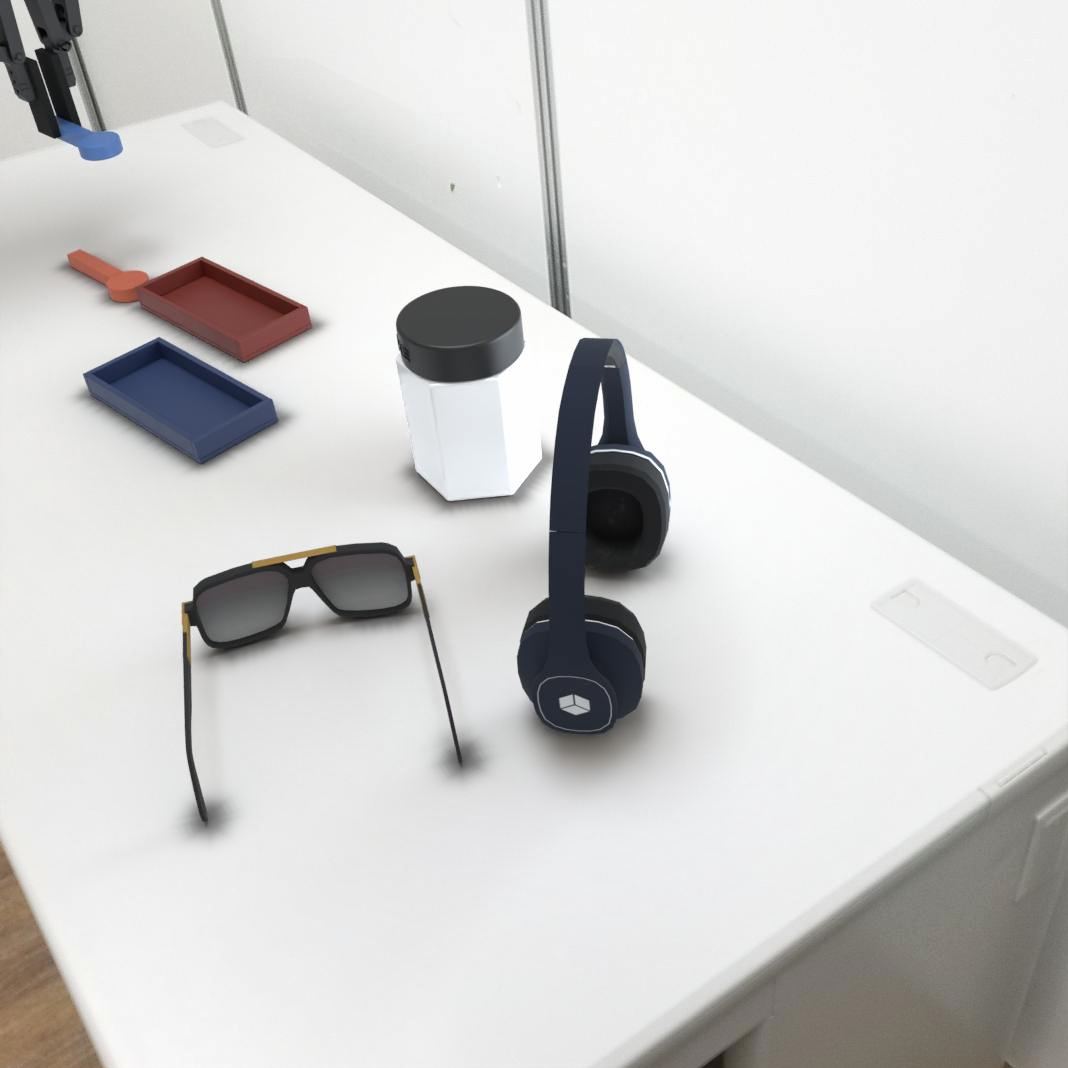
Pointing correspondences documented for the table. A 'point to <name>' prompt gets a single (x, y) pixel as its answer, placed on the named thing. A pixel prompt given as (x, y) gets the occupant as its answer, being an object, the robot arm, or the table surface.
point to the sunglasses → (266, 595)
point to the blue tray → (181, 399)
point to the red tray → (224, 308)
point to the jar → (468, 391)
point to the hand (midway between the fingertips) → (60, 129)
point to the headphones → (594, 551)
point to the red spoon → (109, 275)
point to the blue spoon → (90, 141)
